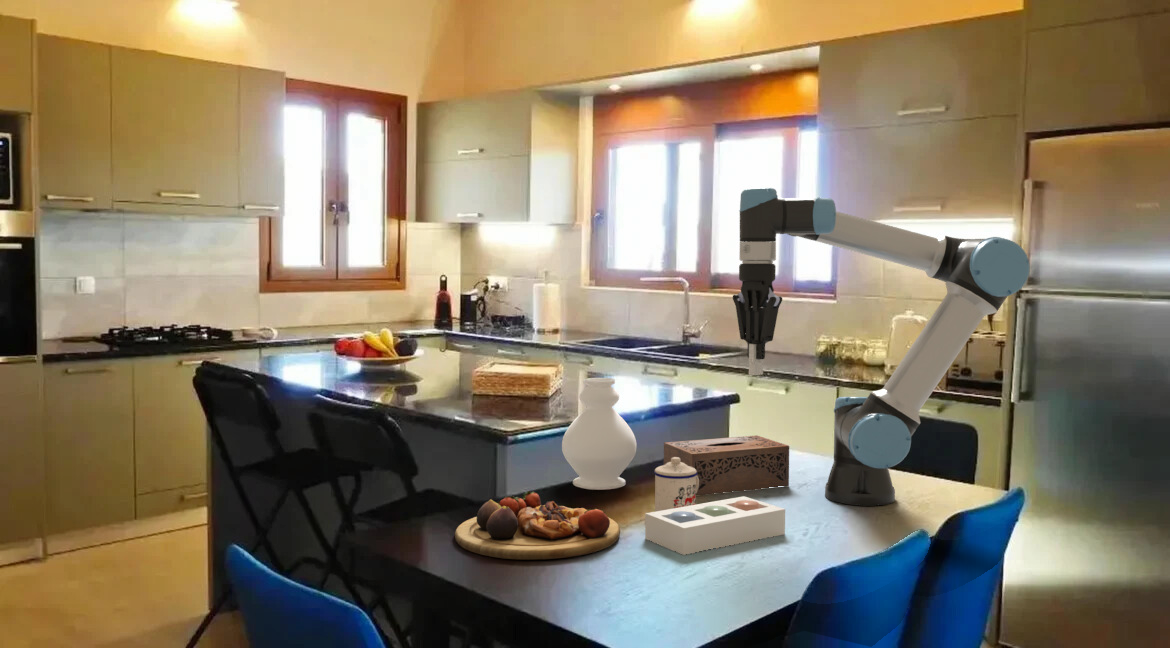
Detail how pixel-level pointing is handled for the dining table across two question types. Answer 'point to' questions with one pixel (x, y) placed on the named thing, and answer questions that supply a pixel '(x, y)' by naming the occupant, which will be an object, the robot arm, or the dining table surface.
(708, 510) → the button sage
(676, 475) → the teacup with lid
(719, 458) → the tissue box cover
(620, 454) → the decorative vase
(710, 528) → the tray
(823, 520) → the dining table surface
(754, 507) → the button terracotta
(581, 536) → the wooden plate with food
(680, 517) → the button slate
